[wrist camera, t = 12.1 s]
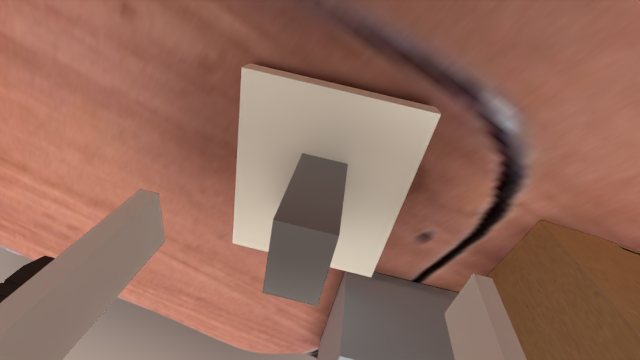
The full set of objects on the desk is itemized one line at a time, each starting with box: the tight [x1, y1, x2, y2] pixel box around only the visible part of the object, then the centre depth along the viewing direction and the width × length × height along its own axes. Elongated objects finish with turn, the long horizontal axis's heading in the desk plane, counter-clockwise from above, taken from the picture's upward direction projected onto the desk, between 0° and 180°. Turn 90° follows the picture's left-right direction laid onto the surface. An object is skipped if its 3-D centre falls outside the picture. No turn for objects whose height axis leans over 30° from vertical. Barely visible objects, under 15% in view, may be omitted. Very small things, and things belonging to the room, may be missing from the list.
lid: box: [233, 63, 441, 306], centre depth 16 cm, size 12×10×8 cm
